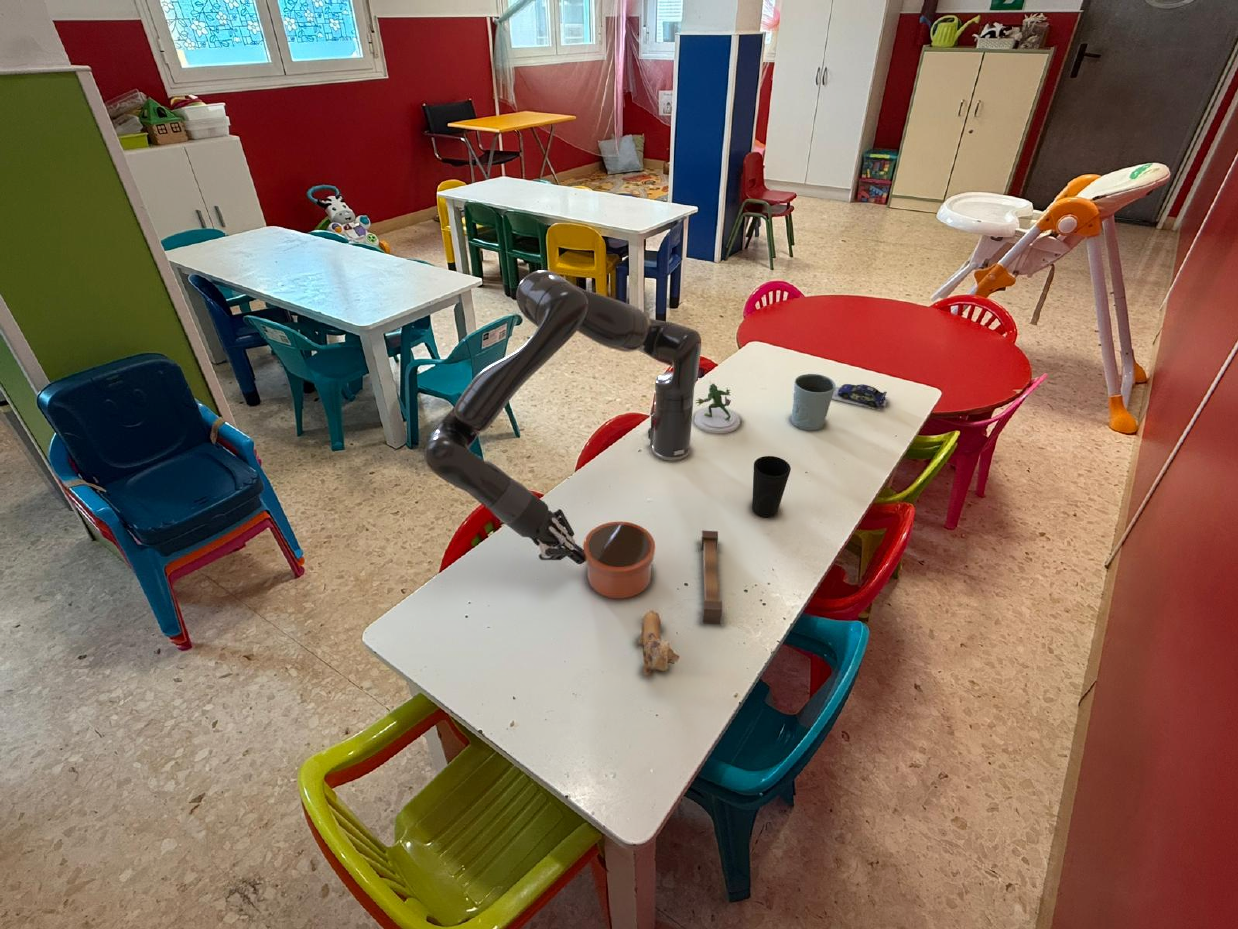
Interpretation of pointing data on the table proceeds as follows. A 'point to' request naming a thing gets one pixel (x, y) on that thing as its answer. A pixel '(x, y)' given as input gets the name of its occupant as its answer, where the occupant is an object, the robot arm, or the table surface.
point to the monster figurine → (716, 413)
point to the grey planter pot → (811, 401)
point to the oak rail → (710, 578)
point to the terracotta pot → (619, 559)
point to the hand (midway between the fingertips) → (584, 559)
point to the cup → (769, 485)
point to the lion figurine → (655, 645)
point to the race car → (860, 396)
